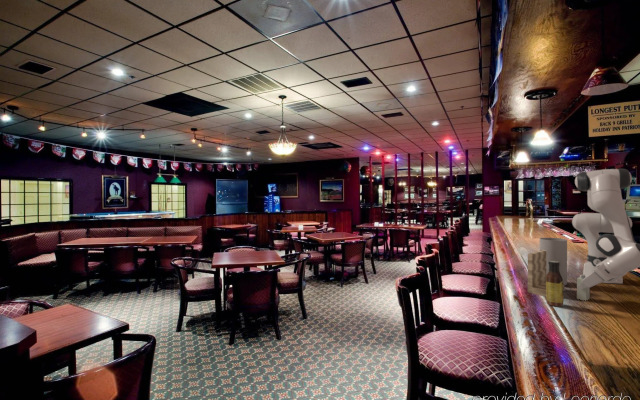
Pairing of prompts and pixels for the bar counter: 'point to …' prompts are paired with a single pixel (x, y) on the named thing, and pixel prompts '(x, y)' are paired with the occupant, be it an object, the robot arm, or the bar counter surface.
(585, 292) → the beige block
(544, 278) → the back board shelf
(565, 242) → the cylinder vase
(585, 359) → the bar counter surface
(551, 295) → the sauce bottle
